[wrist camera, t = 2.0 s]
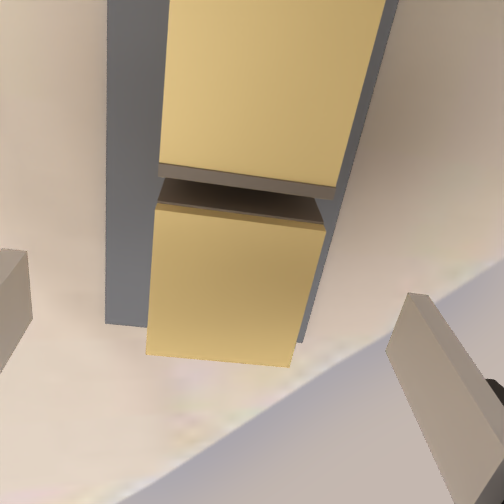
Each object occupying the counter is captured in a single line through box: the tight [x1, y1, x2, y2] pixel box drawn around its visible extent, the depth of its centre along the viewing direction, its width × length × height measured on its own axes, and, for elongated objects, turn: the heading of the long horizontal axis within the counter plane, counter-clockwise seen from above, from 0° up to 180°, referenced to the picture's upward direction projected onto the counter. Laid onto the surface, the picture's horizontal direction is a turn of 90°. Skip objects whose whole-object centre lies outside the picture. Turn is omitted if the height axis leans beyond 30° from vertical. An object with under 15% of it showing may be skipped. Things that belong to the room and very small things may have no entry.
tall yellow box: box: [158, 0, 386, 200], centre depth 17 cm, size 9×6×12 cm, turn 171°
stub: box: [146, 177, 326, 368], centre depth 21 cm, size 6×6×12 cm
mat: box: [105, 0, 399, 343], centre depth 26 cm, size 26×14×1 cm, turn 171°
